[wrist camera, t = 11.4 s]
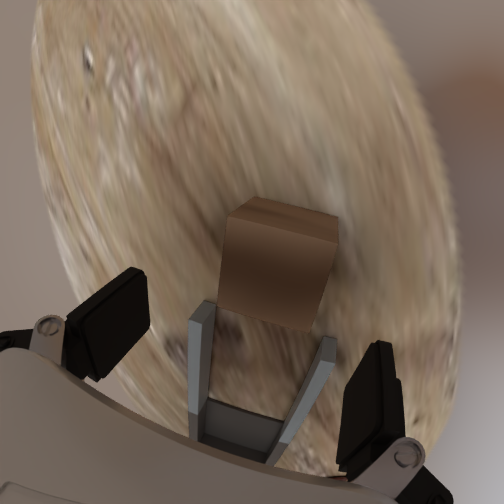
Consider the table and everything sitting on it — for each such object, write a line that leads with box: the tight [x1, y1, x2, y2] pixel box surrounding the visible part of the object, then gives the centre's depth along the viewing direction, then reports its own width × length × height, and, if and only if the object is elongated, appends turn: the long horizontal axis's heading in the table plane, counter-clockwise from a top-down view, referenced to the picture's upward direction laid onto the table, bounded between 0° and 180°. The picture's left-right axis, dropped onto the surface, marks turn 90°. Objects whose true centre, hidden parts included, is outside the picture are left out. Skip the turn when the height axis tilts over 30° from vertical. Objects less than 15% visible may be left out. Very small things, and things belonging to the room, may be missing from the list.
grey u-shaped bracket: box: [188, 301, 337, 466], centre depth 23 cm, size 21×10×2 cm, turn 171°
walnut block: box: [217, 197, 338, 334], centre depth 15 cm, size 5×5×4 cm
